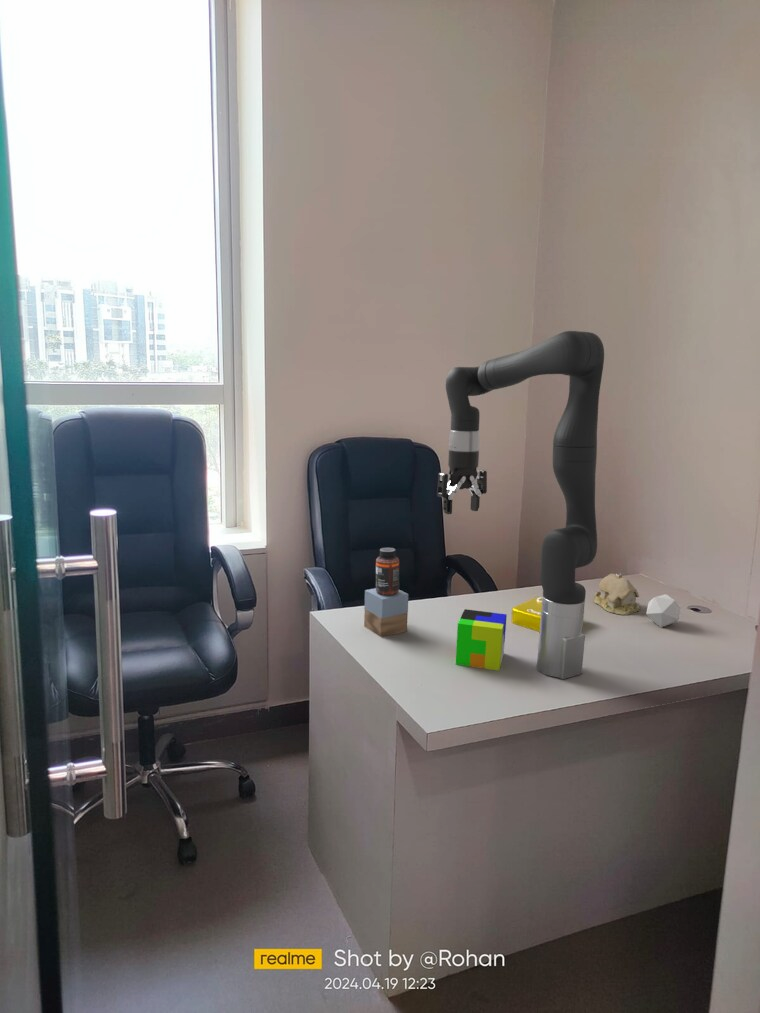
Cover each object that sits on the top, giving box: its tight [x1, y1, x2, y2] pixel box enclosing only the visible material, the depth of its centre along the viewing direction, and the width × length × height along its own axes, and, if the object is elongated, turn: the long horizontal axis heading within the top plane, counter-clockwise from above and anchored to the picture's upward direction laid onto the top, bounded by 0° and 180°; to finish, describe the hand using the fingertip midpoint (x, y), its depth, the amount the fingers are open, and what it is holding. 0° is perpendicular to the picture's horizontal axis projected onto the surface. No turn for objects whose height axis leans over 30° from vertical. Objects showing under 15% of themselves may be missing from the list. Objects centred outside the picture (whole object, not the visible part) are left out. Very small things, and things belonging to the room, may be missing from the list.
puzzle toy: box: [455, 608, 507, 671], centre depth 169 cm, size 10×10×10 cm
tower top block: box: [363, 587, 409, 618], centre depth 185 cm, size 8×8×5 cm
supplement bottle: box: [375, 547, 400, 595], centre depth 183 cm, size 6×6×11 cm
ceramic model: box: [593, 572, 640, 616], centre depth 208 cm, size 14×11×10 cm
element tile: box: [511, 596, 585, 633], centre depth 194 cm, size 15×15×5 cm
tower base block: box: [363, 609, 409, 638], centre depth 186 cm, size 8×8×5 cm
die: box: [645, 593, 682, 628], centre depth 195 cm, size 8×9×10 cm
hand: (461, 512), depth 183 cm, fingers open, 8 cm apart
